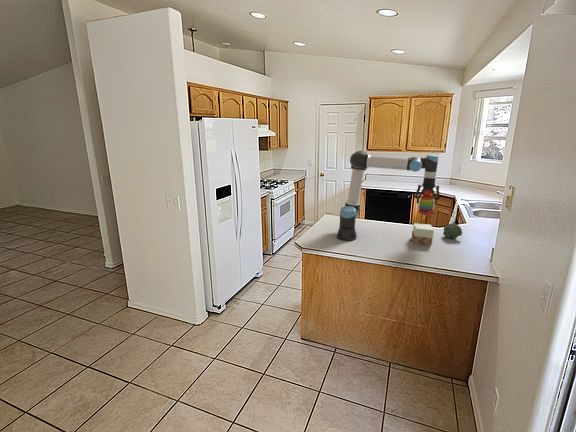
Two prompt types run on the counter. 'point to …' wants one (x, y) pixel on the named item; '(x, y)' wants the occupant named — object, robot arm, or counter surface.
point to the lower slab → (421, 240)
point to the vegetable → (452, 231)
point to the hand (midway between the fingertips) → (425, 208)
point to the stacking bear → (426, 203)
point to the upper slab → (423, 230)
